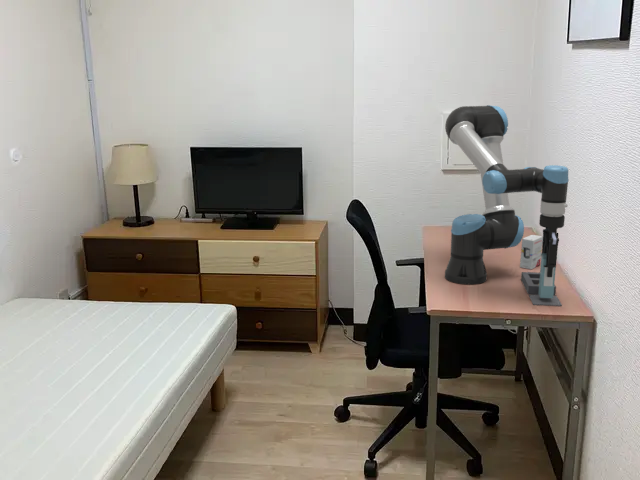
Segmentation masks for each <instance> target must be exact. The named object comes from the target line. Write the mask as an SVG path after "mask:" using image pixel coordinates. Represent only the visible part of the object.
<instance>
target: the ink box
mask: <svg viewBox="0 0 640 480" xmlns="http://www.w3.org/2000/svg"><path fill="white" fill-rule="evenodd" d="M542 243H543V235H542V236H541V235H537V234H536V235H535V234H530V235H528V236H525V237H523V238H522V239H521V250H520V251H521V252H520V259H519V260H520V262H519V268H523V269H527V270H533V269H535V268H537V267H538V266H539V265H540V266H541V253H542Z"/></svg>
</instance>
